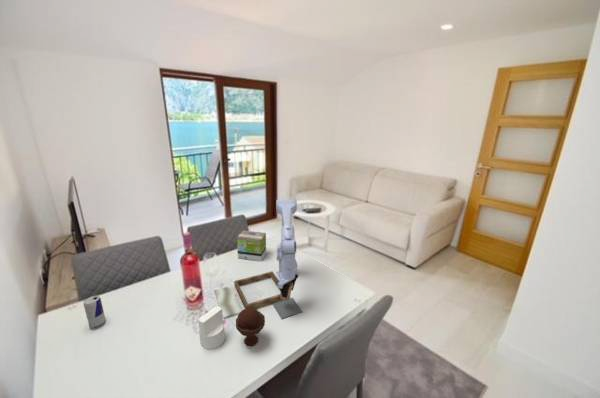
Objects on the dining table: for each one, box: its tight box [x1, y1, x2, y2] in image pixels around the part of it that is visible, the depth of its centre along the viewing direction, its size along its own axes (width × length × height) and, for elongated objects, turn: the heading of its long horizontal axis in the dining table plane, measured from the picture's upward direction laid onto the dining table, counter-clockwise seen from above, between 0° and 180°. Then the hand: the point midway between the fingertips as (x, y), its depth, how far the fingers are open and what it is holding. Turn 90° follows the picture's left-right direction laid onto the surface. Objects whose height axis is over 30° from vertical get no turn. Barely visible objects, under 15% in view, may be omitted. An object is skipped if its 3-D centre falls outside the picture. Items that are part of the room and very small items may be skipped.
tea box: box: [236, 230, 267, 262], centre depth 159 cm, size 15×10×15 cm, turn 81°
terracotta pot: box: [279, 281, 294, 300], centre depth 116 cm, size 5×5×7 cm
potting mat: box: [272, 297, 303, 320], centre depth 118 cm, size 10×10×1 cm
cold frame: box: [214, 271, 283, 320], centre depth 126 cm, size 30×20×3 cm
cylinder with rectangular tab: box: [197, 305, 226, 350], centre depth 99 cm, size 9×9×12 cm
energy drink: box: [83, 295, 107, 330], centre depth 105 cm, size 5×5×12 cm
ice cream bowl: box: [235, 308, 266, 348], centre depth 99 cm, size 11×11×15 cm
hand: (287, 293), depth 116 cm, fingers closed on terracotta pot, 5 cm apart
